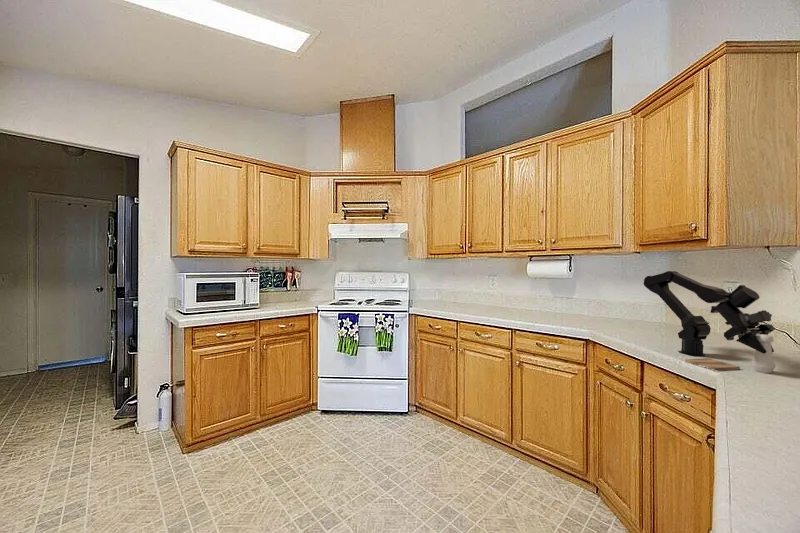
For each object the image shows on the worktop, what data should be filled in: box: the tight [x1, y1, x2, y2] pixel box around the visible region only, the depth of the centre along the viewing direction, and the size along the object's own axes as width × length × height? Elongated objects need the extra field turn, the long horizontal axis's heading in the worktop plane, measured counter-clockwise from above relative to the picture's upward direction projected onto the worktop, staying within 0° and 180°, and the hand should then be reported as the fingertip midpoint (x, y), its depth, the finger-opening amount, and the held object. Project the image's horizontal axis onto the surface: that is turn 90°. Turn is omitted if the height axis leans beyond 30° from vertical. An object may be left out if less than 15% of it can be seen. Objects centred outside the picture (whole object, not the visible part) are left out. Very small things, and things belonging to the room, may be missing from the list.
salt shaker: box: [751, 334, 776, 374], centre depth 130 cm, size 6×6×13 cm
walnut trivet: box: [684, 357, 741, 371], centre depth 137 cm, size 11×11×1 cm
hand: (769, 352), depth 129 cm, fingers closed on salt shaker, 3 cm apart
